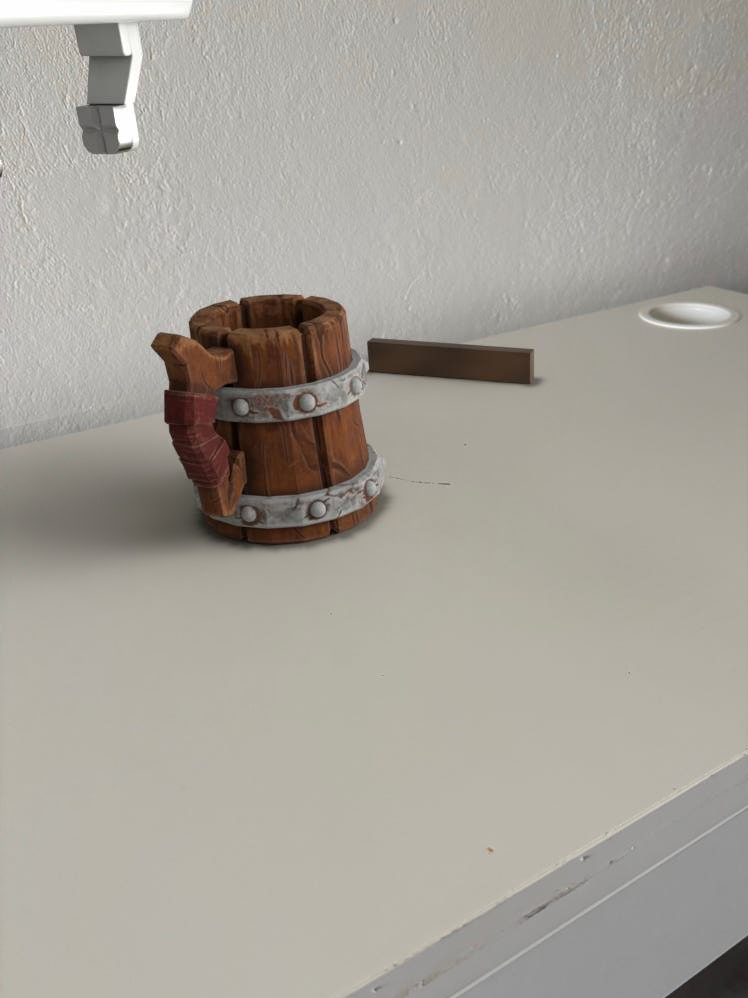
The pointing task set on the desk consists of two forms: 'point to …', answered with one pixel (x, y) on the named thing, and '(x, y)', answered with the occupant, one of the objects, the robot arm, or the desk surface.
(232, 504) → the mug
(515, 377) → the rail
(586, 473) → the desk surface
